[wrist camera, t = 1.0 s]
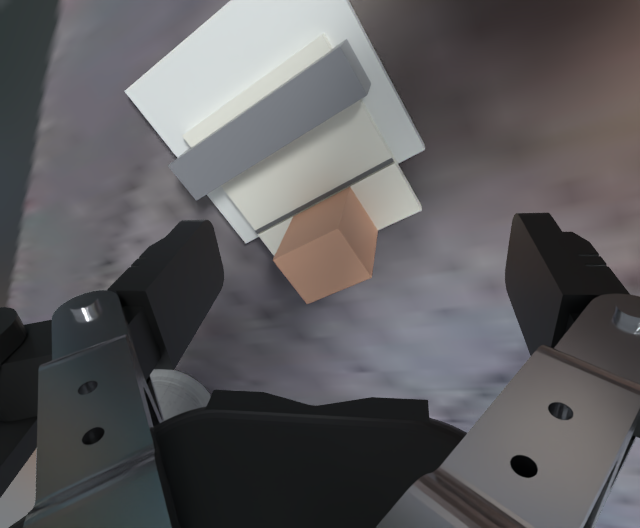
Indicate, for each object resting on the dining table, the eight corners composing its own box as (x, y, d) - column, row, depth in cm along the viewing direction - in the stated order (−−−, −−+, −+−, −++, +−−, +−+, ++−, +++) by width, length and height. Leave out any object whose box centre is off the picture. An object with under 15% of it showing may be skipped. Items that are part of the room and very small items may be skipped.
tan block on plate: (395, 158, 30) (391, 202, 25) (421, 205, 32) (423, 256, 26) (260, 230, 35) (232, 279, 30) (289, 267, 37) (267, 320, 31)
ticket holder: (313, -67, 25) (298, -71, 22) (424, 144, 30) (426, 166, 27) (131, 87, 32) (99, 102, 28) (249, 237, 37) (233, 263, 34)
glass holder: (223, 393, 50) (162, 533, 38) (182, 447, 58) (120, 577, 45) (153, 357, 48) (65, 490, 36) (120, 417, 56) (39, 543, 44)
